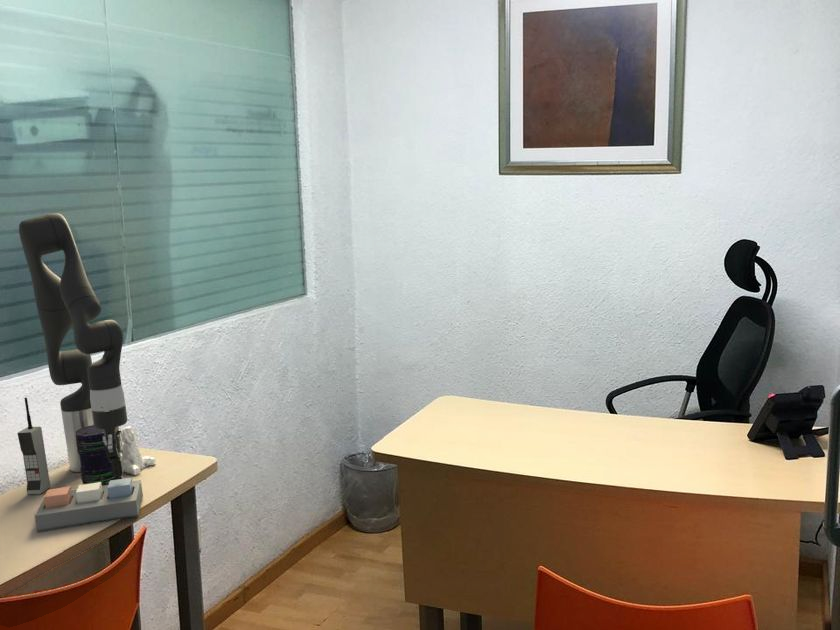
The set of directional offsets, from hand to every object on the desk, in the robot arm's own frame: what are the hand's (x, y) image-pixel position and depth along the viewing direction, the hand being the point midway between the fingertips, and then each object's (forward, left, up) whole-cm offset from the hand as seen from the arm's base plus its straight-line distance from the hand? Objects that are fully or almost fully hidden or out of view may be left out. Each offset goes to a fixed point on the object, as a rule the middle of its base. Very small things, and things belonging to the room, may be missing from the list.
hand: (118, 475), depth 201 cm
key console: (0, -7, -8) cm, 11 cm away
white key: (0, -7, -5) cm, 9 cm away
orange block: (0, -14, -5) cm, 15 cm away
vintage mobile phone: (-22, -23, -9) cm, 33 cm away
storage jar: (-20, -7, -9) cm, 23 cm away
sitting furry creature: (-29, 0, -9) cm, 30 cm away
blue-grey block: (0, 0, -5) cm, 5 cm away
